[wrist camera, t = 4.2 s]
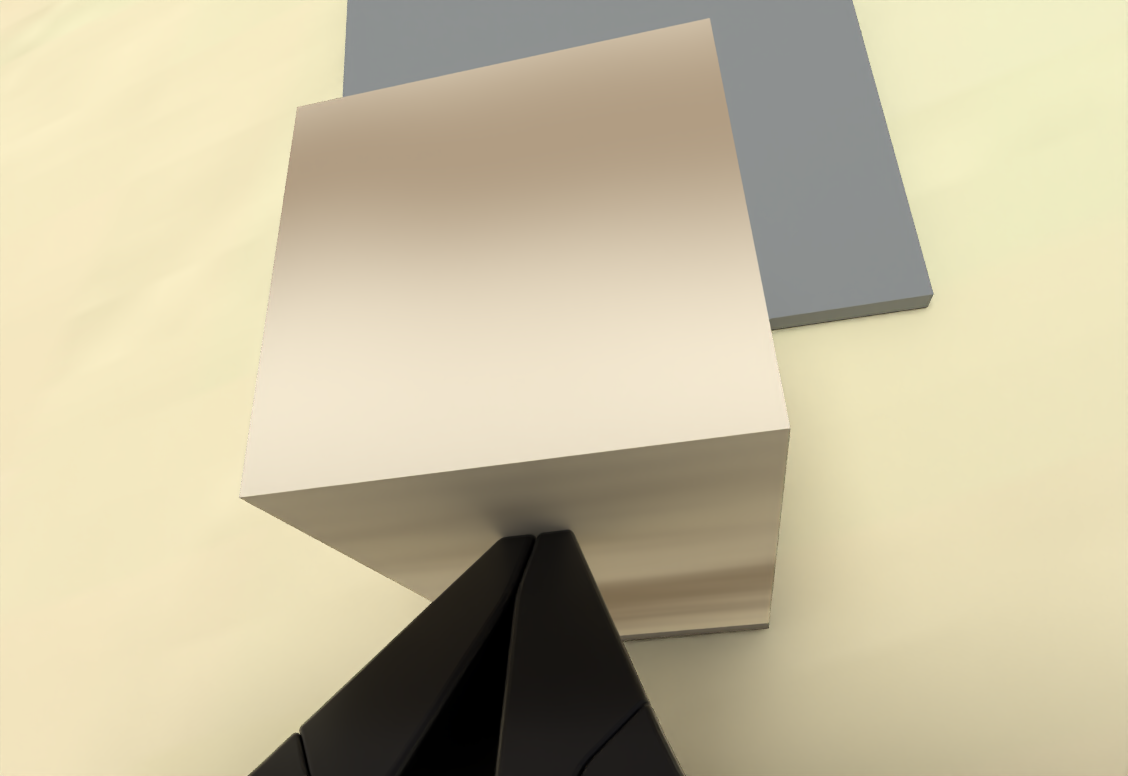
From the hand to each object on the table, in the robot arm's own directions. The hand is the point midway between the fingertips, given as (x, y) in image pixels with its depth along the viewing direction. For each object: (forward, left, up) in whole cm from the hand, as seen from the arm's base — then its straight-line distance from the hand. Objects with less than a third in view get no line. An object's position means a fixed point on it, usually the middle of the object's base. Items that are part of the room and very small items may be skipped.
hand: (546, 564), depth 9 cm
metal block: (+2, 0, -8) cm, 8 cm away
